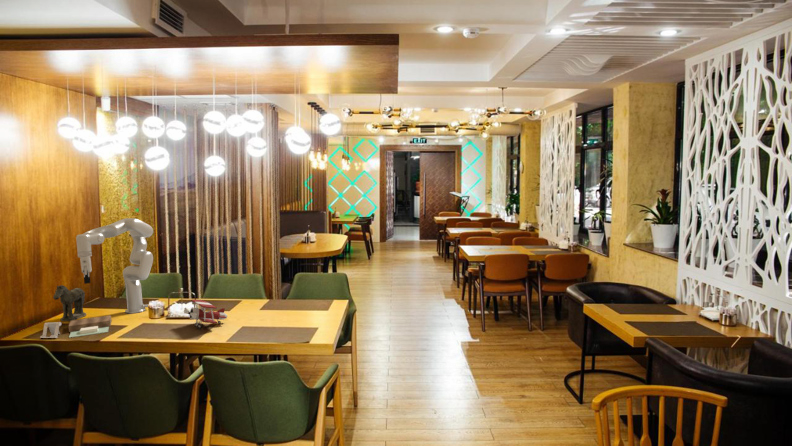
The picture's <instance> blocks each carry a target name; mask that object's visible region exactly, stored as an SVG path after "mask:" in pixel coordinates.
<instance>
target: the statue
mask: <svg viewBox="0 0 792 446" xmlns="http://www.w3.org/2000/svg"><path fill="white" fill-rule="evenodd" d="M85 295H86V292H85V291H84V290H83V289H82V288H81V287H79V288H78V287H76V288H73V289H70V290H69V289H68V287H66V286H65V285H63V284H61V285H56V289H55V292H54V294H53V296H52V297H53V298H52V299H54V301H57V300H60V303H61V304H62V310H63V311H62V313H63V315H62V316H61V318H59V321H60V320H61V321H60V322H71V321H72V320H79V319H82V318H84V317H86V316H87V312H84V308H83V307H84V304H85V300H86V299H85V297H86V296H85ZM73 305H74V311H73Z"/></svg>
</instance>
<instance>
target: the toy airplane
mask: <svg viewBox="0 0 792 446" xmlns="http://www.w3.org/2000/svg"><path fill="white" fill-rule="evenodd" d="M191 301H192V302H193V307H191V308H190V310H189V309H188V308H187V307H184V309H183V313H184V314H187V315H189V320H195V323H194V327H196V328H197V329H202V327H203V326H202V323H206V324H207V323H208V324H217V323H218V325H219V324H221V320H223V321H225V319H227V318H228V314H227V313H226V312H225V310H226V308H224V307H221V308H220V309H218V310H215V311H213V309H217V306H215V305H214V304H211V303H210V302H208V301H206V300H201V299H191ZM196 305H198V306H199V307H200V308H198V307H196ZM206 309H210V310H207V311H206Z"/></svg>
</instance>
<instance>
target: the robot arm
mask: <svg viewBox="0 0 792 446" xmlns="http://www.w3.org/2000/svg"><path fill="white" fill-rule="evenodd" d="M126 232H129V234H130V236H131V238H132V241H133V246H132V250H131V252H130V256H129V262H130V263H131V264H132V265H128V266H126V267H125V268H124V269H123V270H122V276H123V280H124V285H125V295H126V305H127V306H126V308H127V309H125V310H124V313H125V314H137V313H142V312H145V311H146V309H147V308H149V307H148V305H149V304H150V303H149V304H148V303H145V304H144V302H143V295H142V292H143V290H142V283H141V281H145V280H147V279H148V278H149V275H150V272H151V269H152V268H153V267H152V266H153V262H154V255H153V253H152V252H151V251H148V250H147V247H148V242H147V240H146V238H150V237H151V236H152V235H153V234H154V229H153V227H152V226H151V225H150V224H148V223H146V222H145V221H143V220H140V219H138V218H135V217H134V218H132V217H130V218H128V217H127V218H126V217H125V218H121V219H120V220H117V221H115V222H112V223H111V224H107V225H103V226H100V227H97V228H92V229H91V230H88V231H86V232H84V233H82V234H77V235H76V237H75V239H76V250H77V258H80V259H79V260H80V268H81V273H82V274H83V283H84V284H86V285H87V284H91V276H90V275H91V274H90V273H91V272H92V271H93V269H92V258H91V257H92V256H93V254H92V253H93V252H92V246H93V245H101V244H103V243H104V241H105V240H106V239H108V238H109V239H110V238H115V237H117V236H119V235H120V236H121V234H124V233H126Z"/></svg>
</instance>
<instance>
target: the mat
mask: <svg viewBox="0 0 792 446" xmlns="http://www.w3.org/2000/svg"><path fill="white" fill-rule="evenodd" d="M109 328H110V327H102V328H98V332H92V333H85V334H80V331H74V332H70V334H69V336H68V338H69V339H70V338H71V337H72V338H78V337H84V336H91V335H98V334H105V333H109ZM72 338H71V339H72Z"/></svg>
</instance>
